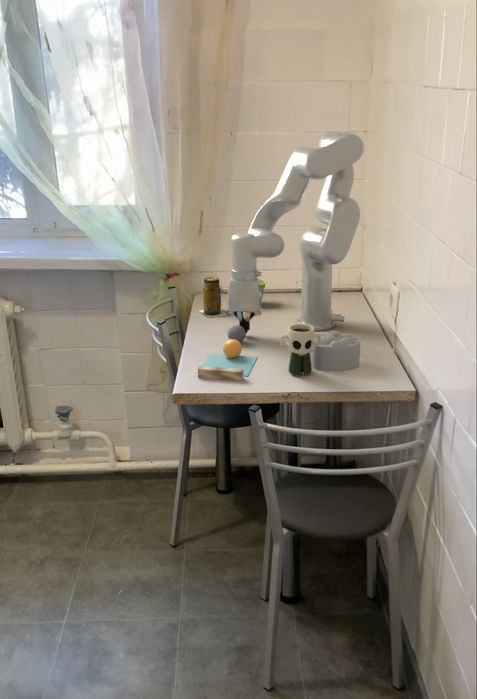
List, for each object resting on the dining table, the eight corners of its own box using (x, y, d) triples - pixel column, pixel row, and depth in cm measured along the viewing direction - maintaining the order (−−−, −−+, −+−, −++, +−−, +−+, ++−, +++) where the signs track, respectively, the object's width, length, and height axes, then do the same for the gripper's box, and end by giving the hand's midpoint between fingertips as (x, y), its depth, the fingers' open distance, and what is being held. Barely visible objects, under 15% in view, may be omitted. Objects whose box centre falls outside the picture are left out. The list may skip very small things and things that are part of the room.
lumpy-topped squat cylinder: (311, 357, 190) (312, 328, 187) (357, 357, 189) (358, 329, 186) (313, 371, 181) (314, 341, 177) (361, 372, 180) (363, 342, 177)
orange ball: (241, 336, 187) (238, 354, 185) (244, 344, 192) (241, 361, 190) (222, 335, 188) (219, 353, 186) (225, 342, 193) (223, 360, 191)
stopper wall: (243, 377, 177) (243, 369, 176) (241, 380, 175) (241, 372, 174) (200, 374, 179) (199, 365, 178) (198, 377, 178) (197, 368, 177)
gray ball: (240, 325, 196) (243, 343, 197) (247, 323, 201) (249, 340, 202) (223, 327, 199) (226, 345, 199) (230, 325, 204) (233, 342, 204)
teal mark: (257, 357, 190) (257, 356, 190) (247, 376, 178) (247, 375, 178) (210, 353, 193) (210, 353, 193) (197, 372, 180) (197, 372, 180)
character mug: (281, 379, 176) (282, 333, 171) (278, 368, 182) (278, 324, 178) (322, 377, 177) (324, 331, 172) (317, 367, 183) (319, 322, 178)
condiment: (217, 308, 234) (216, 275, 229) (227, 314, 226) (227, 281, 222) (198, 311, 231) (197, 277, 226) (208, 318, 223) (207, 283, 219)
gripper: (270, 272, 201) (270, 329, 208) (222, 270, 204) (224, 326, 211) (266, 279, 194) (266, 337, 201) (217, 277, 197) (218, 334, 204)
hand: (244, 332), depth 206 cm, fingers closed
